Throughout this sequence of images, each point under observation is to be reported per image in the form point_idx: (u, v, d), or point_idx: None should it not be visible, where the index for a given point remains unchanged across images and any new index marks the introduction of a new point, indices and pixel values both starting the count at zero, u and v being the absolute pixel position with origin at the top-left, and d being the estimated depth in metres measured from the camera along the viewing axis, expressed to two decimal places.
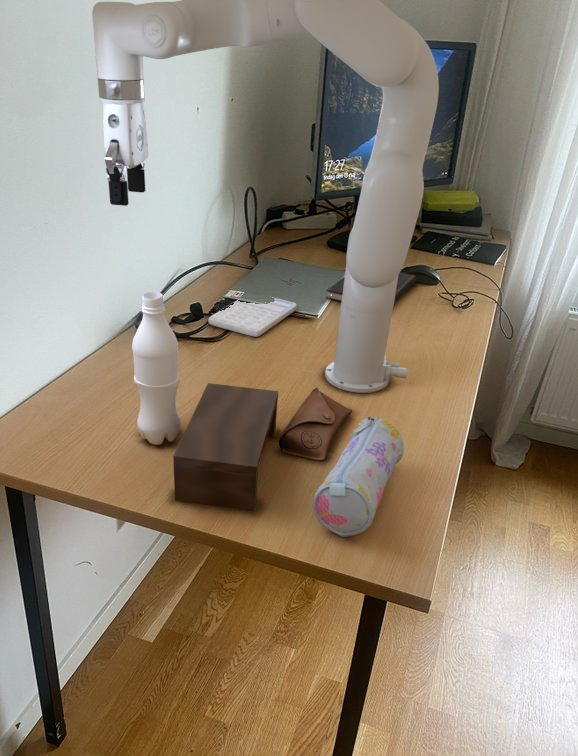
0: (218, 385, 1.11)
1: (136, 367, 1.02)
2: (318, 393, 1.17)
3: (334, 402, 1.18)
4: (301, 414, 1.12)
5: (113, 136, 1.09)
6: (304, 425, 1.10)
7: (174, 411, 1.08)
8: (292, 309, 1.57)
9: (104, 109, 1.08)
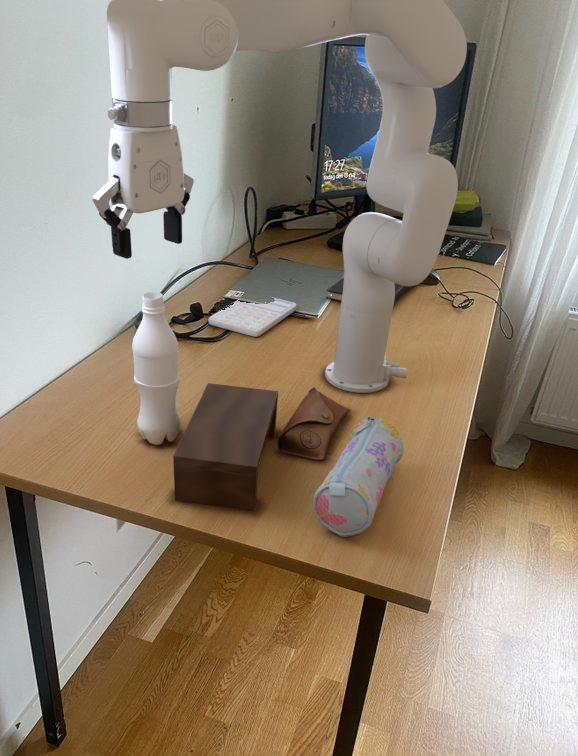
0: (218, 385, 1.11)
1: (136, 367, 1.02)
2: (316, 393, 1.18)
3: (332, 401, 1.19)
4: (299, 413, 1.12)
5: (115, 171, 0.85)
6: (303, 425, 1.10)
7: (174, 411, 1.08)
8: (292, 309, 1.57)
9: (110, 136, 0.84)
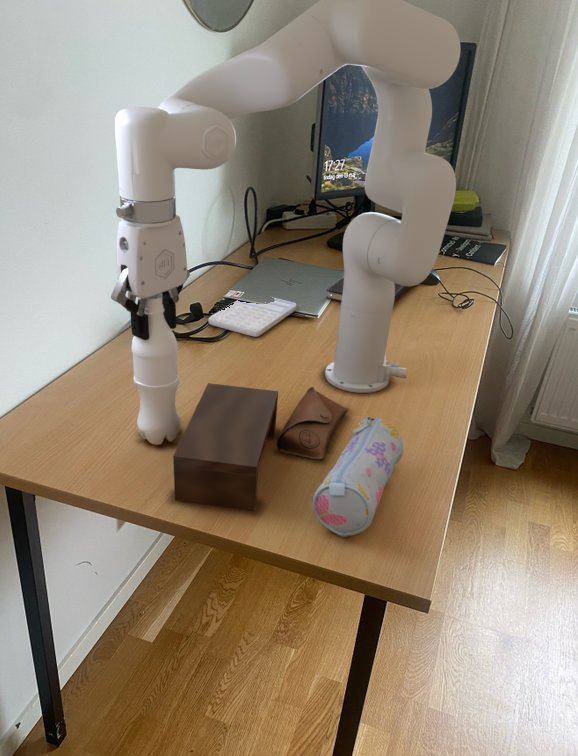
0: (218, 385, 1.11)
1: (135, 367, 1.02)
2: (314, 392, 1.18)
3: (330, 401, 1.19)
4: (298, 413, 1.12)
5: (123, 261, 0.91)
6: (302, 424, 1.10)
7: (174, 411, 1.08)
8: (292, 309, 1.57)
9: (118, 229, 0.90)
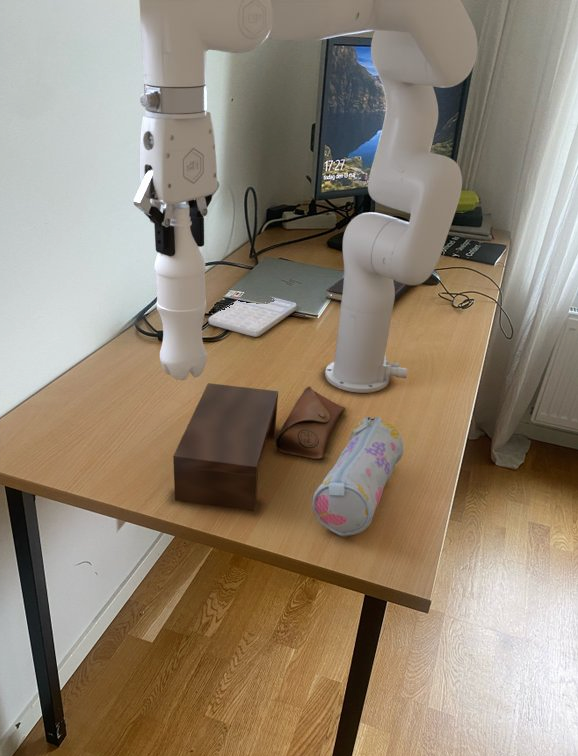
0: (218, 385, 1.11)
1: (159, 290, 0.93)
2: (311, 392, 1.18)
3: (327, 400, 1.19)
4: (296, 413, 1.12)
5: (147, 160, 0.81)
6: (300, 424, 1.10)
7: (200, 342, 0.98)
8: (292, 309, 1.57)
9: (142, 124, 0.81)
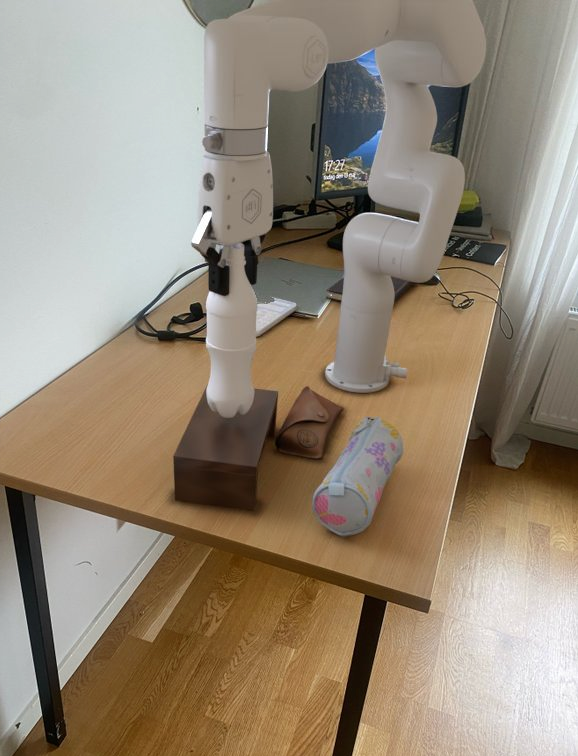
0: None
1: (210, 329, 0.91)
2: (310, 391, 1.18)
3: (326, 400, 1.19)
4: (295, 413, 1.12)
5: (206, 202, 0.80)
6: (299, 424, 1.10)
7: (249, 380, 0.96)
8: (292, 309, 1.57)
9: (201, 165, 0.79)
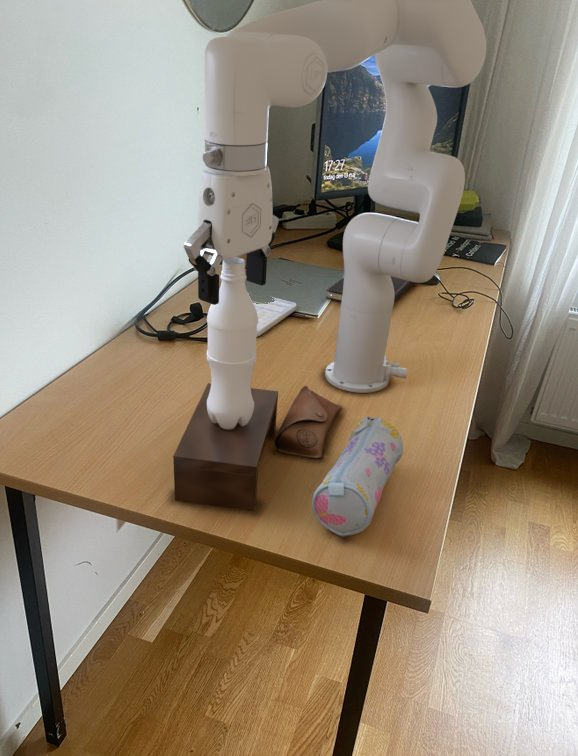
0: None
1: (211, 342, 0.92)
2: (308, 391, 1.18)
3: (324, 400, 1.19)
4: (294, 413, 1.12)
5: (207, 216, 0.81)
6: (298, 424, 1.10)
7: (249, 392, 0.97)
8: (292, 309, 1.57)
9: (202, 180, 0.80)
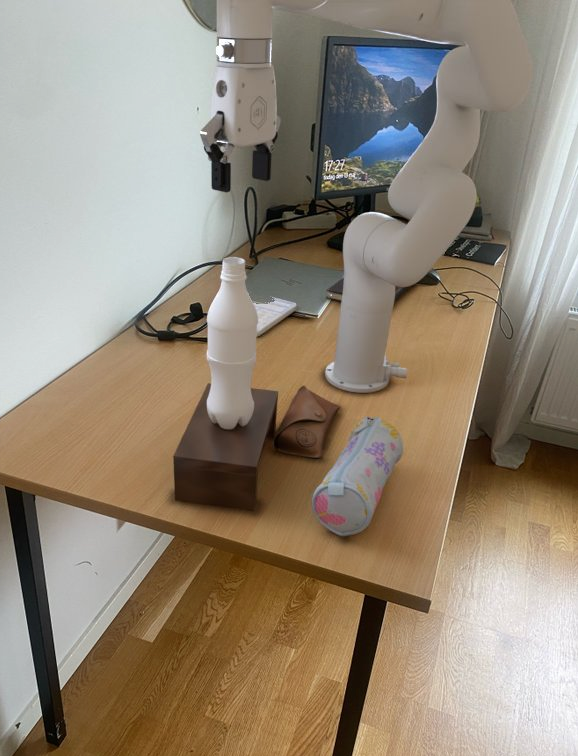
0: None
1: (211, 342, 0.92)
2: (306, 391, 1.18)
3: (322, 399, 1.19)
4: (293, 412, 1.12)
5: (219, 107, 0.91)
6: (297, 424, 1.10)
7: (249, 392, 0.97)
8: (292, 309, 1.57)
9: (215, 74, 0.90)
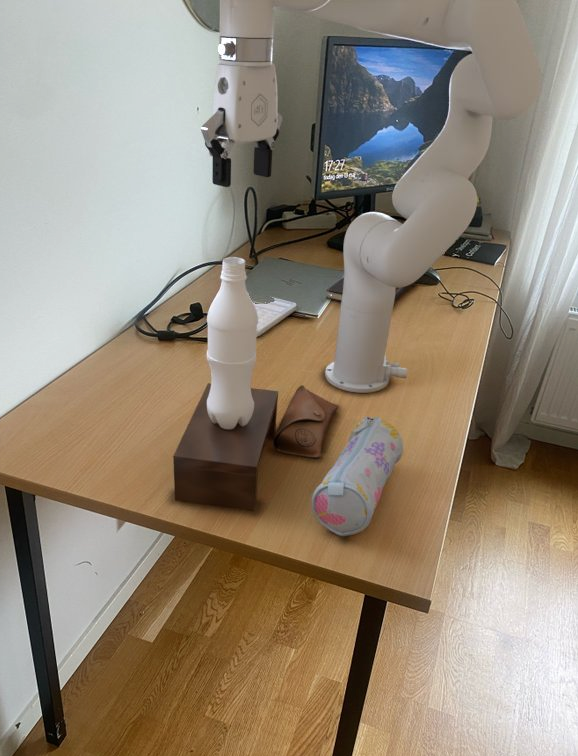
0: None
1: (211, 342, 0.92)
2: (305, 391, 1.18)
3: (321, 399, 1.19)
4: (292, 412, 1.12)
5: (221, 104, 0.94)
6: (296, 423, 1.10)
7: (249, 392, 0.97)
8: (292, 309, 1.57)
9: (217, 71, 0.93)
